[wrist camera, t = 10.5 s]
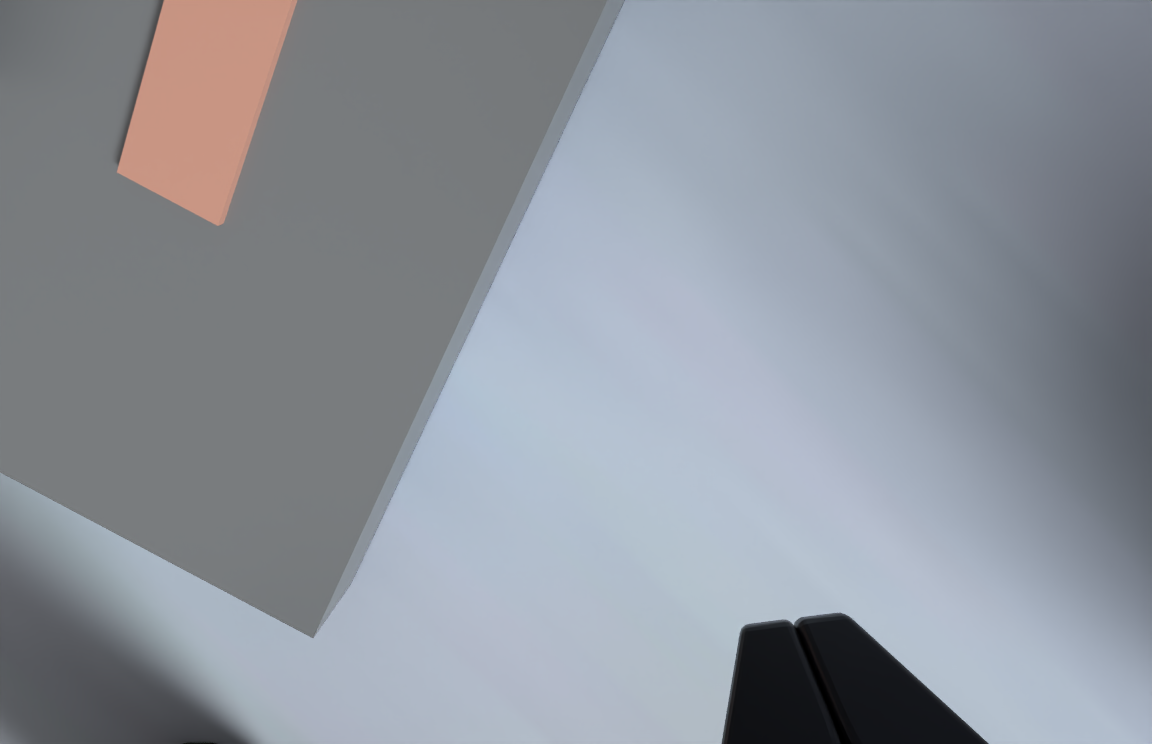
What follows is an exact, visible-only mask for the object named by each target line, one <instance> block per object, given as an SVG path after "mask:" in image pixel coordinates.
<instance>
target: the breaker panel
mask: <svg viewBox="0 0 1152 744" xmlns="http://www.w3.org/2000/svg"><path fill="white" fill-rule="evenodd" d="M624 1H625V0H0V472H1V473H3V474H4V475H6V476H8V477H10V478H12V479H14V480H16V481H18V482H20V483H21V484H23V485H25V486H27V487H29V488H31V489H33V490H35V491H36V492H38V493H40V494H42V495H44V496H46V497H48V498H50V499H52V500H53V501H55V502H57V503H59V504H61V505H63V506H65V507H67V508H69V509H70V510H72V511H74V512H76V513H78V514H80V515H82V516H84V517H85V518H87V519H89V520H91V521H93V522H95V523H97V524H99V525H101V526H102V527H104V528H106V529H108V530H110V531H112V532H114V533H116V534H118V535H119V536H121V537H123V538H125V539H127V540H129V541H131V542H133V543H134V544H136V545H138V546H140V547H142V548H144V549H146V550H148V551H150V552H151V553H153V554H155V555H157V556H159V557H161V558H163V559H165V560H167V561H168V562H170V563H172V564H174V565H176V566H178V567H180V568H182V569H183V570H185V571H187V572H189V573H191V574H193V575H195V576H197V577H199V578H200V579H202V580H204V581H206V582H208V583H210V584H212V585H214V586H216V587H217V588H219V589H221V590H223V591H225V592H227V593H229V594H231V595H232V596H234V597H236V598H238V599H240V600H242V601H244V602H246V603H248V604H249V605H251V606H253V607H255V608H257V609H259V610H261V611H263V612H265V613H266V614H268V615H270V616H272V617H274V618H276V619H278V620H280V621H281V622H283V623H285V624H287V625H289V626H291V627H293V628H295V629H297V630H298V631H300V632H302V633H304V634H306V635H308V636H310V637H312V638H314V636H315V635H316V633H317V632H318V631H319V629H320V628H321V626H322V625H323V623H324V622H325V621H326V619H327V618H328V616H329V615H330V613H331V612H332V611H333V609H334V608H335V606H336V605H337V603H338V602H339V601H340V599H341V598H342V596H343V595H344V594H345V592H346V591H347V589H348V588H349V586H350V585H351V583H352V581H353V579H354V577H355V575H356V573H357V570H358V568H359V566H360V564H361V562H362V560H363V558H364V555H365V553H366V551H367V549H368V547H369V545H370V543H371V541H372V538H373V536H374V534H375V532H376V530H377V528H378V526H379V523H380V521H381V519H382V517H383V515H384V513H385V511H386V509H387V506H388V504H389V502H390V500H391V498H392V496H393V494H394V491H395V489H396V487H397V485H398V483H399V481H400V479H401V477H402V474H403V472H404V470H405V468H406V466H407V464H408V462H409V459H410V457H411V455H412V453H413V451H414V449H415V447H416V445H417V442H418V440H419V438H420V436H421V434H422V432H423V430H424V427H425V425H426V423H427V421H428V419H429V417H430V415H431V413H432V410H433V408H434V406H435V404H436V402H437V400H438V398H439V395H440V393H441V391H442V389H443V387H444V385H445V383H446V381H447V378H448V376H449V374H450V372H451V370H452V368H453V366H454V363H455V361H456V359H457V357H458V355H459V353H460V351H461V349H462V346H463V344H464V342H465V340H466V338H467V336H468V334H469V331H470V329H471V327H472V325H473V323H474V321H475V319H476V317H477V314H478V312H479V310H480V308H481V306H482V304H483V302H484V299H485V297H486V295H487V293H488V291H489V289H490V287H491V285H492V282H493V280H494V278H495V276H496V274H497V272H498V270H499V267H500V265H501V263H502V261H503V259H504V257H505V255H506V253H507V250H508V248H509V246H510V244H511V242H512V240H513V238H514V235H515V233H516V231H517V229H518V227H519V225H520V223H521V221H522V218H523V216H524V214H525V212H526V210H527V208H528V206H529V203H530V201H531V199H532V197H533V195H534V193H535V191H536V189H537V186H538V184H539V182H540V180H541V178H542V176H543V174H544V172H545V169H546V167H547V165H548V163H549V161H550V159H551V157H552V154H553V152H554V150H555V148H556V146H557V144H558V142H559V140H560V137H561V135H562V133H563V131H564V129H565V127H566V125H567V122H568V120H569V118H570V116H571V114H572V112H573V110H574V108H575V105H576V103H577V101H578V99H579V97H580V95H581V93H582V90H583V88H584V86H585V84H586V82H587V80H588V78H589V76H590V73H591V71H592V69H593V67H594V65H595V63H596V61H597V58H598V56H599V54H600V52H601V50H602V48H603V46H604V44H605V41H606V39H607V37H608V35H609V33H610V31H611V29H612V26H613V24H614V22H615V20H616V18H617V16H618V14H619V12H620V9H621V7H622V5H623V3H624Z"/></svg>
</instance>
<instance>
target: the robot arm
mask: <svg viewBox="0 0 1152 744" xmlns="http://www.w3.org/2000/svg"><path fill="white" fill-rule="evenodd" d="M722 744H988V743H987V742H986V741H985V740H984V739H983V738H982V737H981V736H980V735H979V734H977V733H976V732H975V731H974V730H973V729H972V728H971V727H970V726H969V725H968V724H967V723H965V722H964V721H963V720H962V719H961V718H960V717H959V716H958V715H957V714H956V713H955V712H953V711H952V710H951V709H950V708H949V707H948V706H947V705H946V704H945V703H944V702H942V701H941V700H940V699H939V698H938V697H937V696H936V695H935V694H934V693H933V692H932V691H930V690H929V689H928V688H927V687H926V686H925V685H924V684H923V683H922V682H921V681H920V680H918V679H917V678H916V677H915V676H914V675H913V674H912V673H911V672H910V671H909V670H907V669H906V668H905V667H904V666H903V665H902V664H901V663H900V662H899V661H898V660H897V659H895V658H894V657H893V656H892V655H891V654H890V653H889V652H888V651H887V650H886V649H885V648H883V647H882V646H881V645H880V644H879V643H878V642H877V641H876V640H875V639H874V638H873V637H871V636H870V635H869V634H868V633H867V632H866V631H865V630H864V629H863V628H862V627H860V626H859V625H858V624H857V623H856V622H855V621H854V620H853V619H852V618H850V617H849V616H847V615H845V614H842V613H832V614H824V615H816V616H808V617H801V618H799V619H798V620H797V621H796V622H795V623H794V625H793V624H792V623H791V622H790V621H788V620H776V621H768V622H761V623H753V624H747V625H745V626H744V627H743V628H742V629H741V631H740V636H739V642H738V648H737V654H736V660H735V666H734V672H733V678H732V684H731V690H730V696H729V702H728V708H727V714H726V720H725V726H724V732H723V738H722Z"/></svg>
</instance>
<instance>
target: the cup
mask: <svg viewBox="0 0 1152 744" xmlns="http://www.w3.org/2000/svg"><path fill="white" fill-rule="evenodd" d="M184 744H215V743H184Z"/></svg>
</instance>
